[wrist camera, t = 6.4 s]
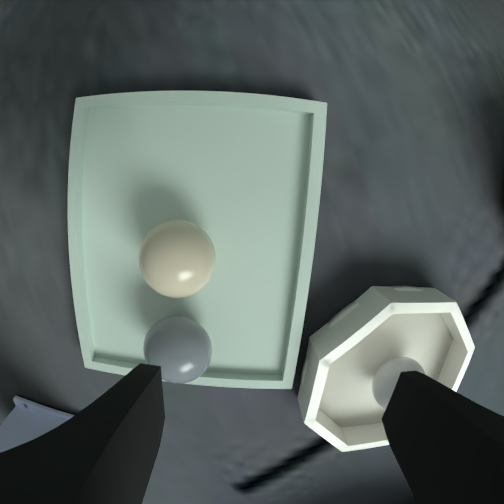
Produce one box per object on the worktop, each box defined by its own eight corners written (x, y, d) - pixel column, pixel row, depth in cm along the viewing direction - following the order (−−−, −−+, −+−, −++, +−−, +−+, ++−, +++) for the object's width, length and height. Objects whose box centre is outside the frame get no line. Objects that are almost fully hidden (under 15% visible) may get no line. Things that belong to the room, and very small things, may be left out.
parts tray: (92, 357, 17) (85, 367, 16) (86, 102, 13) (76, 97, 12) (288, 376, 18) (291, 388, 16) (320, 108, 14) (327, 102, 13)
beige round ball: (150, 279, 15) (129, 306, 12) (150, 213, 14) (126, 223, 11) (216, 285, 15) (210, 313, 12) (220, 216, 15) (214, 228, 11)
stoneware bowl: (288, 431, 19) (293, 456, 16) (316, 281, 16) (329, 299, 14) (421, 415, 19) (434, 434, 17) (468, 286, 17) (491, 299, 14)
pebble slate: (154, 356, 16) (138, 392, 13) (151, 301, 15) (131, 331, 12) (213, 361, 16) (209, 400, 13) (215, 307, 16) (210, 339, 12)
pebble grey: (358, 393, 17) (378, 427, 14) (371, 349, 17) (396, 380, 13) (401, 386, 18) (424, 416, 14) (415, 344, 17) (444, 371, 14)
